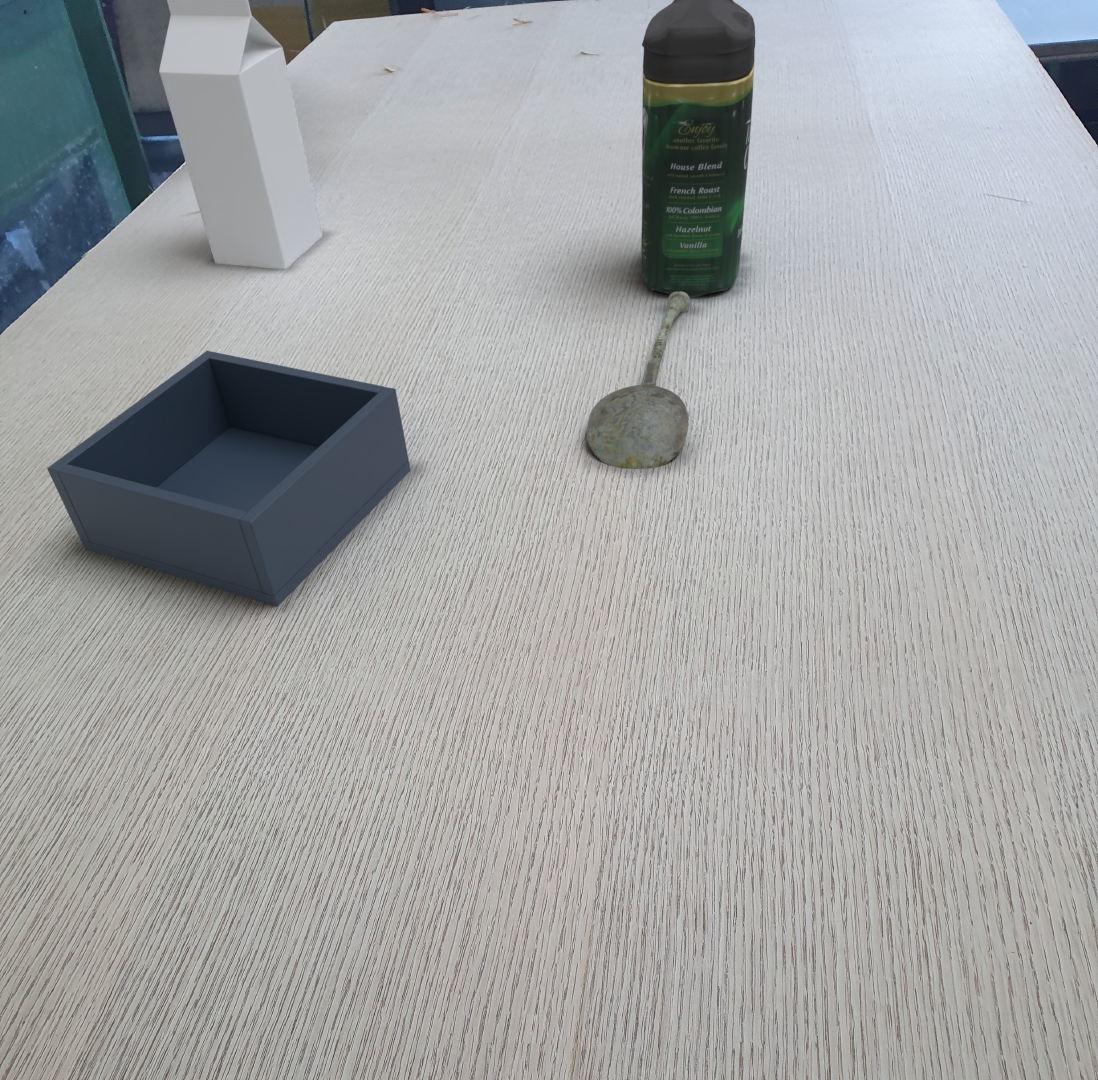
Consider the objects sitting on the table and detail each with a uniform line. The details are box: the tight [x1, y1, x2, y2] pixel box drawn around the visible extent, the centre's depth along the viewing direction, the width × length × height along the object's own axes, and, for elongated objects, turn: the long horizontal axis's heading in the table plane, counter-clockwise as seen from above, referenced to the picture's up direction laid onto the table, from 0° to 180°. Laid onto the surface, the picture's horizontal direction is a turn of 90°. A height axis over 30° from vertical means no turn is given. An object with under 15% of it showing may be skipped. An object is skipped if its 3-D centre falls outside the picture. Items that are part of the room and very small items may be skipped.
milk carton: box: [158, 0, 323, 270], centre depth 88 cm, size 7×7×19 cm
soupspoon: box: [585, 292, 691, 470], centre depth 74 cm, size 22×3×7 cm
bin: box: [47, 350, 412, 607], centre depth 65 cm, size 15×15×6 cm
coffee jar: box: [640, 0, 756, 298], centre depth 79 cm, size 10×8×19 cm
